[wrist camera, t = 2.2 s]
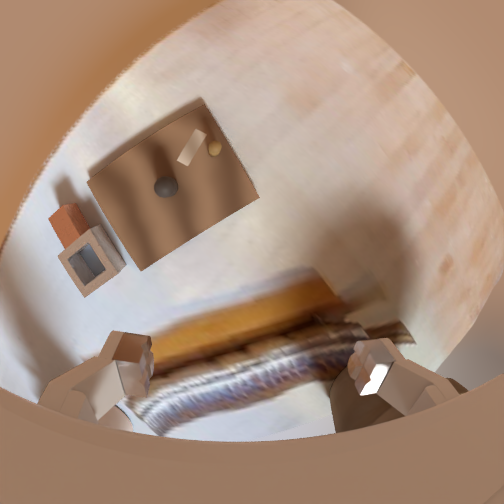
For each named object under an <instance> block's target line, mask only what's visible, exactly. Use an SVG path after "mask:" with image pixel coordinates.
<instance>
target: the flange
mask: <svg viewBox="0 0 504 504" xmlns="http://www.w3.org/2000/svg"><path fill="white" fill-rule="evenodd" d="M49 221H50V223H51V225H52V227H53V229H54V230H55V232H56V234H57V236H58V238H59V239H60V241H61V243H62V245H63V246H64V248H65V250H64V251H63V252H62V253H60V254H59V255H58V258H59V260H60V261H61V263H62V264H63V266H64V268H65V269H66V271H67V272H68V274H69V276H70V277H71V279H72V280H73V282H74V283H75V285H76V286H77V288H78V289H79V291H80V292H81V293H82V295H83V296H84V298H85V297H86V296H88V295H89V294H91V293H92V292H93V291H95V290H96V289H97V288H99V287H100V286H101V285H103V284H104V283H106V282H107V281H108V280H110V279H111V278H113V277H114V276H116V275H117V274H118V273H119V272H120V271H121V270H122V269H123V268H124V267H125V266H126V264H125V262H124V261H123V259H122V258H121V256H120V254H119V253H118V251H117V250H116V248H115V247H114V245H113V244H112V242H111V240H110V239H109V237H108V236H107V234H106V232H105V231H104V229H103V227H102V226H101V225H98V226H95V227H93V228H90V227H89V225H88V224H87V222H86V220H85V218H84V217H83V215H82V213H81V211H80V209H79V208H78V206H77V204H76V203H73V204H67V205H62V206H61V207H60V208H59V209H58V210H57V211H56V212H55V213H54V214H53V215H52V216H51V217H50V218H49ZM89 244H90V245H91V247H92V248H93V250H94V252H95V253H96V255H97V256H98V258H99V260H100V261H101V263H102V264H103V266H104V267H105V270H104V271H102V272H101V273H100V274H98V275H97V276H96V277H95V276H94V275H93V273H92V272H91V270H90V269H89V267H88V265H87V264H86V262H85V261H84V259H83V258H82V256H81V254H80V253H79V252H80V251H82V250H83V249H84V248H85V247H86V246H88V245H89Z"/></svg>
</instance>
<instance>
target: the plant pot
mask: <svg viewBox="0 0 504 504" xmlns="http://www.w3.org/2000/svg"><path fill="white" fill-rule="evenodd" d="M446 379H448V380H449V382H450V383H451V384H452V385H453V387H454V388H455V389H456V391H457V392H458V393H459V394H460V395H462V394H464V393H466V392H468V390H467V389H466V388H465V387H463V386H462V385H460V384H459V383H458V382H456V381H455V380H453V379H451V378H446ZM355 381H356V380H354V379H353V378H351V377H350V375H349V373H348V366H347V367H346V368H345V369H344V370H343V371H342V372H341V373H340V374H339V375H338V377H337V378H336V379H335V381H334V383H333V385H332V387H331V391H330V403H331V410H332V415H333V420H334V425H335V431H336V433H340V432H345V431H350V430H355V429H360V428H364V427H368V426H372V425H376V424H380V423H384V422H388V421H391V420H395V419H398V418H401V417H404V416H405V415H403V414H402V413H401V412H399V411H398V410H397V409H395V408H394V407H393V406H392V405H390V404H389V403H388V402H386V401H385V400H384V399H383V398H381V397H380V396H379V395H378V394H377V393H373V394H367V395H360V394H359V392H358V391H357V389H356V387H355V385H354V384H355Z"/></svg>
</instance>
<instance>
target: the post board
mask: <svg viewBox="0 0 504 504" xmlns="http://www.w3.org/2000/svg"><path fill="white" fill-rule="evenodd" d="M87 184H88V186H89V188H90V190H91V191H92V193H93V195H94V197H95V199H96V200H97V202H98V204H99V206H100V207H101V209H102V211H103V213H104V214H105V216H106V218H107V219H108V221H109V223H110V224H111V226H112V228H113V229H114V231H115V233H116V234H117V236H118V237H119V239H120V241H121V242H122V244H123V245H124V247H125V248H126V250H127V252H128V253H129V255H130V256H131V258H132V259H133V261H134V262H135V264H136V265H137V267H138V268H139V270H140V271H143V270H144V269H146V268H147V267H149V266H150V265H152V264H153V263H155V262H156V261H158V260H159V259H161V258H162V257H164V256H165V255H167V254H169V253H170V252H172V251H173V250H175V249H176V248H178V247H179V246H181V245H183V244H184V243H186V242H187V241H189V240H190V239H192V238H194V237H195V236H197V235H198V234H200V233H202V232H203V231H205V230H207V229H208V228H210V227H211V226H213V225H215V224H216V223H218V222H220V221H221V220H223V219H224V218H226V217H228V216H229V215H231V214H233V213H234V212H236V211H238V210H239V209H241V208H243V207H245V206H246V205H248V204H250V203H251V202H253V201H255V200H256V199H258V198H260V197H259V195H258V194H257V192H256V190H255V188H254V187H253V185H252V183H251V181H250V180H249V178H248V176H247V175H246V173H245V171H244V169H243V168H242V166H241V164H240V163H239V161H238V159H237V157H236V156H235V154H234V152H233V151H232V149H231V147H230V146H229V144H228V142H227V141H226V139H225V137H224V136H223V134H222V132H221V131H220V129H219V127H218V126H217V124H216V122H215V121H214V119H213V117H212V116H211V114H210V113H209V111H208V109H207V108H206V106H205V104H204V105H202V106H201V107H199V108H197V109H195V110H193V111H191V112H189V113H188V114H186V115H184V116H182V117H181V118H179V119H177V120H175V121H174V122H172V123H170V124H169V125H167V126H165V127H164V128H162V129H160V130H159V131H157V132H155V133H154V134H152V135H151V136H149V137H148V138H146V139H145V140H143V141H141V142H140V143H138V144H137V145H135V146H134V147H133V148H131V149H130V150H128V151H127V152H125V153H124V154H123V155H121V156H120V157H118V158H117V159H116V160H114V161H113V162H112V163H110V164H109V165H107V166H106V167H105V168H104V169H102V170H101V171H100V172H98V173H97V174H96V175H95V176H93V177H92V178H91V179H90V180H88V181H87Z"/></svg>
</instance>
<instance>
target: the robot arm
mask: <svg viewBox="0 0 504 504" xmlns="http://www.w3.org/2000/svg"><path fill="white" fill-rule="evenodd" d="M151 346H152V342H151V337H150V336H146V335H139V334H133V333H127V332H120V331H114V330H113V331H112V332H111V333H110V335H109V336H108V338H107V340H106V342H105V344H104V346H103V348H102V350H101V352H100V354H99V356H98V357H95V356H94V357H93V358H91V359H89V360H87V361H86V362H84V363H82V364H80V365H78V366H77V367H75V368H73V369H71V370H69V371H68V372H66V373H64V374H62V375H60V376H59V377H57V378H55V379H53V380H51V381H50V382H49V383H48V385H47V387H46V389H45V390H44V392H43V394H42V396H41V398H40V400H39V402H38V404H36V403H33V402H31V401H29V400H26V399H24V398H22V397H20V396H18V395H15V394H13V393H11V392H9V391H7V390H5V389H3V388H1V387H0V504H504V373H503V374H501V375H499V376H497V377H495V378H494V379H492V380H490V381H488V382H487V383H485V384H483V385H481V386H479V387H477V388H475V389H473V390H471V391H468V392H466V393H464V394H462V395H460V394H459V393H458V392H457V391H456V389H455V388H454V387H453V385H452V384H451V383H450V382H449V380H448V379H446V378H444V377H442V376H440V375H438V374H436V373H434V372H432V371H430V370H428V369H426V368H424V367H422V366H420V365H418V364H416V363H414V362H412V361H411V360H409V359H408V360H406V359H405V358H404V357H403V355H402V354H401V353H400V352H399V350H398V349H397V348H396V346H395V345H394V344H393V343H392V341H391V340H390V339H388V338H381V339H374V340H363V341H357V342H356V344H355V346H354V348H353V349H354V351H355V353H353V354H352V355H351V356H350V358H349V361H348V373H349V375H350V377H351V378H353V379H354V380H356V381H355V384H354V385H355V387H356V389H357V391H358V392H359V394H360V395H367V394H373V393H377V394H378V395H379V396H380V397H381V398H383V399H384V400H385V401H386V402H388V403H389V404H390V405H392V406H393V407H394V408H395V409H397V410H398V411H399V412H401V413H402V414H403V415H405V416H404V417H401V418H398V419H395V420H391V421H388V422H384V423H380V424H376V425H372V426H368V427H364V428H360V429H355V430H350V431H345V432H340V433H334V434H328V435H322V436H315V437H307V438H299V439H289V440H278V441H261V442H260V441H258V442H217V441H198V440H186V439H176V438H167V437H160V436H153V435H146V434H141V433H135V432H133V426H132V424H131V422H130V420H129V419H128V417H127V416H126V415H125V414H124V413H123V412H122V411H121V410H120V409H118V408H117V407H115V406H114V405H116V404H117V403H118V402H119V401H120V400H121V399H122V398H123V397H124V396H125V395H131V396H138V397H146V398H147V394H148V390H149V386H150V384H149V378H150V377H152V373H153V367H154V357H153V353H152V352H151V351H150V349H151Z"/></svg>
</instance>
